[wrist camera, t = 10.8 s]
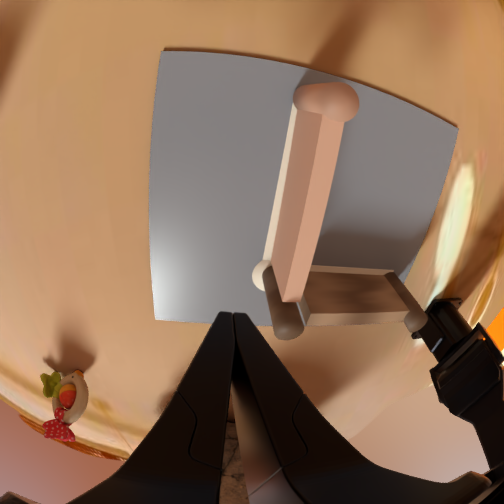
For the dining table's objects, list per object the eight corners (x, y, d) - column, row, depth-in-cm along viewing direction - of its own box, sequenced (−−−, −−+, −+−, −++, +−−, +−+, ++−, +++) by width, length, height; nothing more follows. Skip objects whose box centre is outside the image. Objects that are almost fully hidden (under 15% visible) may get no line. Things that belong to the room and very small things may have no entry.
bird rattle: (66, 346, 29) (34, 376, 27) (61, 406, 20) (26, 434, 18) (99, 372, 32) (65, 399, 31) (104, 432, 23) (66, 456, 21)
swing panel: (290, 261, 22) (307, 307, 17) (265, 260, 22) (277, 307, 17) (324, 88, 15) (362, 88, 11) (294, 82, 15) (323, 77, 10)
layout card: (456, 128, 17) (459, 129, 17) (381, 321, 28) (382, 323, 28) (162, 51, 13) (161, 50, 13) (155, 317, 24) (155, 319, 24)
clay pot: (286, 443, 47) (303, 531, 29) (175, 451, 46) (176, 537, 28) (294, 390, 34) (327, 534, 16) (127, 399, 33) (115, 534, 14)
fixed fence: (397, 270, 25) (431, 314, 19) (389, 286, 26) (420, 331, 20) (263, 261, 22) (278, 319, 17) (259, 281, 23) (271, 340, 18)
